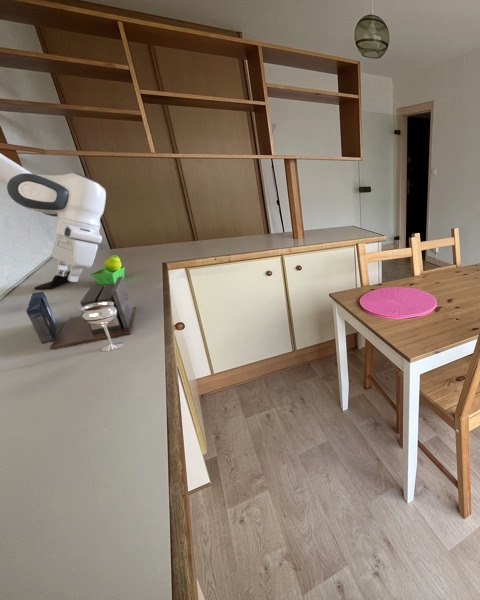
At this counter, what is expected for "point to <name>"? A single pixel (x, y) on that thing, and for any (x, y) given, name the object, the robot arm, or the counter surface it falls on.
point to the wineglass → (102, 319)
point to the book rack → (85, 332)
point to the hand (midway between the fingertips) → (66, 278)
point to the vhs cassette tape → (42, 317)
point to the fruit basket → (110, 271)
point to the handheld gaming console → (54, 282)
